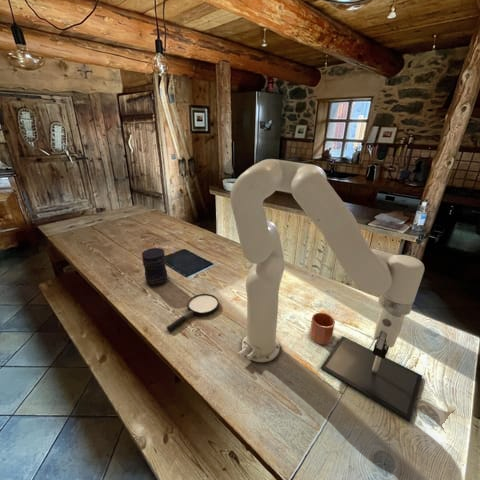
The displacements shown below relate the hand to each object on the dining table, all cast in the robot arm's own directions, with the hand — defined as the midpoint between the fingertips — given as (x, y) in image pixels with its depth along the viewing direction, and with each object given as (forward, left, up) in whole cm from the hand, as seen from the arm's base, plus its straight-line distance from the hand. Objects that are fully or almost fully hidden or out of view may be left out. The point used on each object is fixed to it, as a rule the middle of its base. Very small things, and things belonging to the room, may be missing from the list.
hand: (379, 353), depth 76 cm
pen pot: (+4, +19, -9) cm, 21 cm away
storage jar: (-14, +93, -9) cm, 94 cm away
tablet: (0, +1, -9) cm, 9 cm away
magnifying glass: (-18, +62, -9) cm, 65 cm away
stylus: (0, 0, -8) cm, 8 cm away
